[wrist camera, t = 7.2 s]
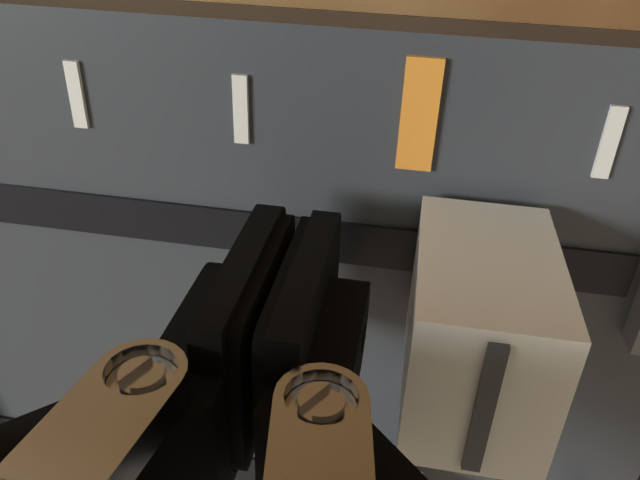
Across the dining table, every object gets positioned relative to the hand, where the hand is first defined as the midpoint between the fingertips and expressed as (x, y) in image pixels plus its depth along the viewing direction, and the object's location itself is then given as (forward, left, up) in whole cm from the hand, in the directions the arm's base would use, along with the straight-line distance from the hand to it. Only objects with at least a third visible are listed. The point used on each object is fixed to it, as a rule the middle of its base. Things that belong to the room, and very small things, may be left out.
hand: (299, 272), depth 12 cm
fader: (0, +4, -1) cm, 4 cm away
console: (+4, -1, -3) cm, 5 cm away
